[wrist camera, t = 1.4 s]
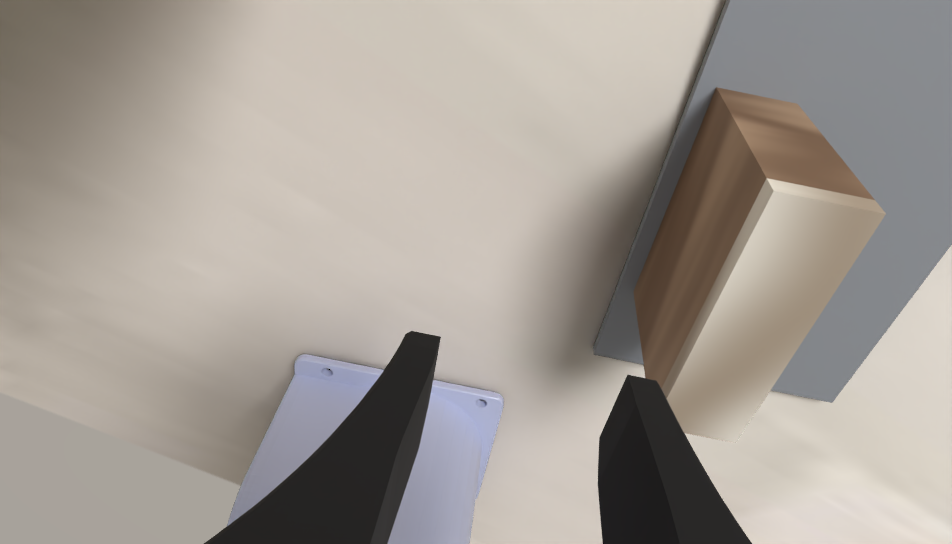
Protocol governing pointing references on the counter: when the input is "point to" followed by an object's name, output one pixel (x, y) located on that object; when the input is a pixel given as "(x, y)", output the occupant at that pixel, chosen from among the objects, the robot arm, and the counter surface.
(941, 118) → the mat
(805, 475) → the counter surface
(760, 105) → the slab
